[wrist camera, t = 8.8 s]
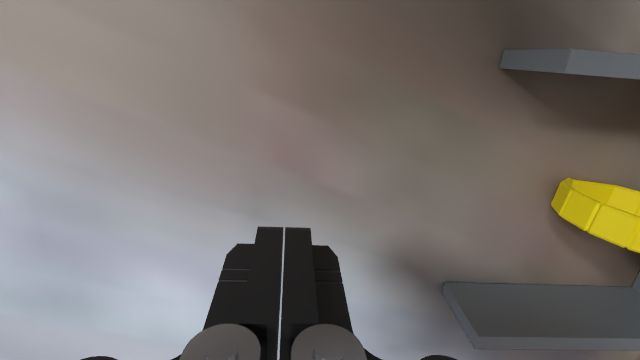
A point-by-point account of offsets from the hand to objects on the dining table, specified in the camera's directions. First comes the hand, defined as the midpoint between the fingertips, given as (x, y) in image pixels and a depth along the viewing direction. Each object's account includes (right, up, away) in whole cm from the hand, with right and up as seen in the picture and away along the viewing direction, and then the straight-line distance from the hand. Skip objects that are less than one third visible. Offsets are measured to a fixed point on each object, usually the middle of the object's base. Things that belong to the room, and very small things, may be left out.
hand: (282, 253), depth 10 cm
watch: (+15, +2, +8) cm, 18 cm away
